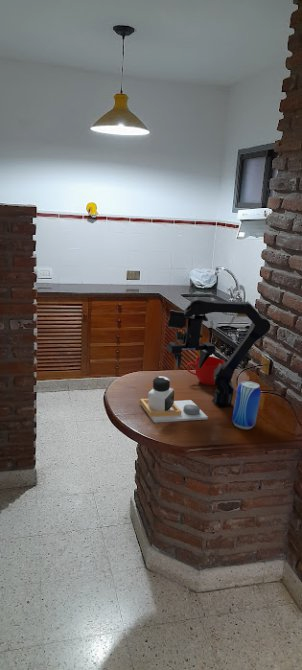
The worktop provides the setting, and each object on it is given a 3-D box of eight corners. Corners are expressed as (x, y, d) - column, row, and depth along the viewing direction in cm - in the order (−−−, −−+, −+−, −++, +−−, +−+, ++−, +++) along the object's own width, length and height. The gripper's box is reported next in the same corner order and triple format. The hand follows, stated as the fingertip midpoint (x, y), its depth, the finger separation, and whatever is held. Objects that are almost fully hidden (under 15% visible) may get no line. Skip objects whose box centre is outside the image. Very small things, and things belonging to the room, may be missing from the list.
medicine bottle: (165, 414, 178) (165, 387, 173) (148, 408, 182) (147, 381, 176) (174, 404, 184) (174, 377, 178) (157, 399, 187) (157, 372, 182)
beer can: (249, 432, 174) (257, 390, 169) (227, 424, 178) (234, 383, 173) (257, 424, 181) (265, 384, 176) (236, 417, 185) (243, 377, 180)
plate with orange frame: (190, 401, 194) (191, 396, 193) (207, 419, 181) (208, 413, 180) (139, 404, 186) (140, 398, 186) (152, 422, 173) (153, 416, 172)
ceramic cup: (181, 376, 220) (183, 355, 218) (216, 377, 224) (220, 356, 221) (188, 387, 208) (191, 365, 205) (226, 388, 212) (229, 367, 209)
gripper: (206, 324, 199) (201, 361, 203) (163, 324, 192) (159, 361, 196) (219, 332, 189) (213, 370, 193) (174, 332, 182) (169, 372, 186)
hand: (188, 368), depth 192 cm, fingers open, 9 cm apart
